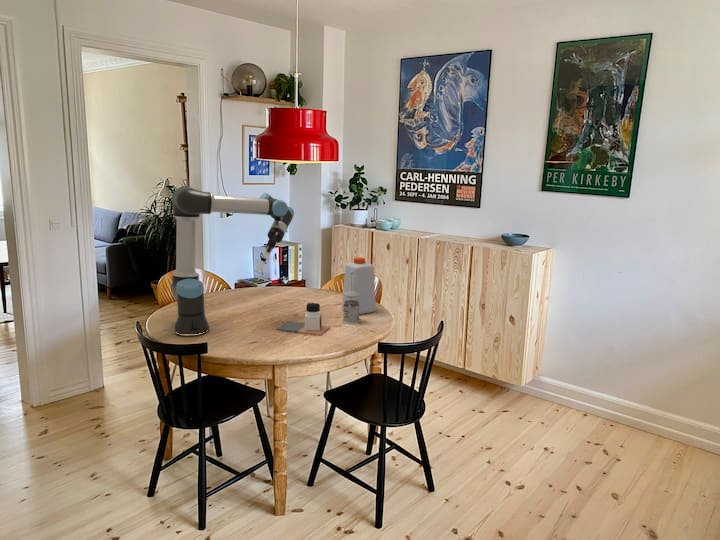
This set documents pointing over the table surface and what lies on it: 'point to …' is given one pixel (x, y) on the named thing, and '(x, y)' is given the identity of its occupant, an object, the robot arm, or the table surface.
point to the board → (301, 328)
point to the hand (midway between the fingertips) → (261, 265)
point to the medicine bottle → (313, 317)
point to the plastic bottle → (360, 284)
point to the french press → (351, 307)
